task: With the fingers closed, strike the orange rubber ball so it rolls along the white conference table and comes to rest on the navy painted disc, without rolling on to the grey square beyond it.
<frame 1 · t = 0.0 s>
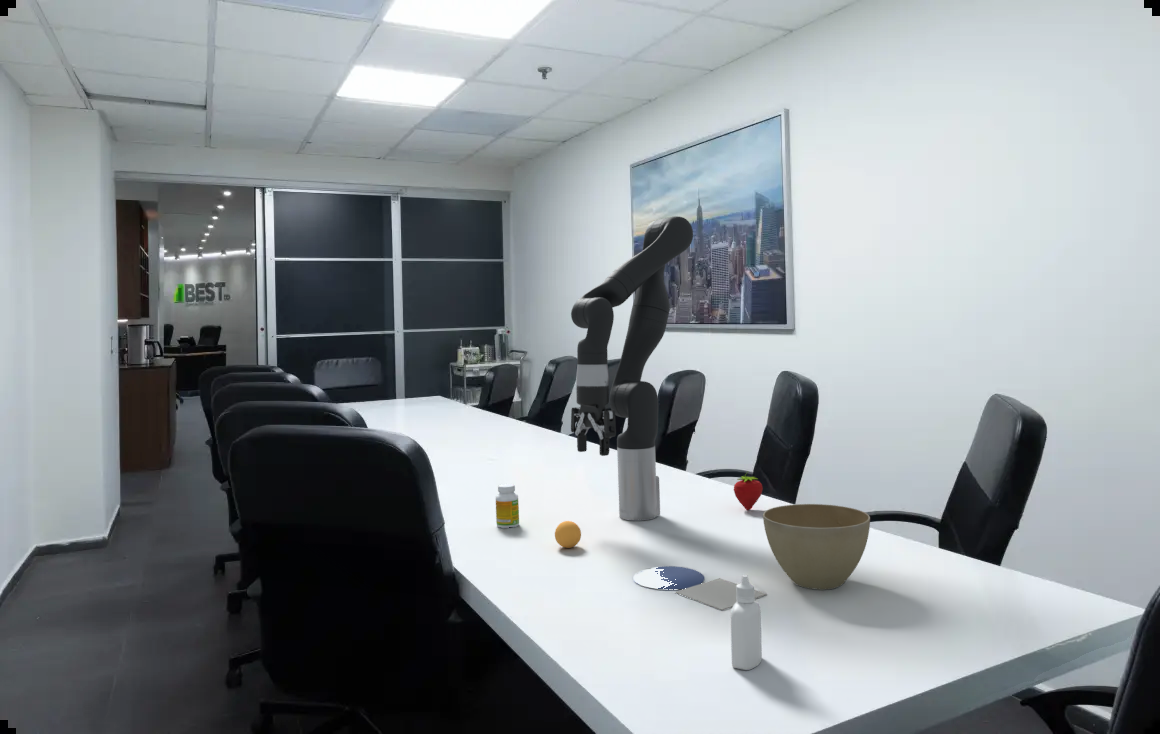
hand: (592, 453, 179), 17 cm above the table, tool pointing down, fingers open, 8 cm apart
strawberry: (748, 510, 190), on the table
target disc: (668, 578, 141), on the table
supplement bottle: (508, 526, 183), on the table
beige bowl: (816, 583, 136), on the table
eye dropper bottle: (747, 664, 105), on the table
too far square: (720, 593, 131), on the table
ball: (567, 534, 163), on the table
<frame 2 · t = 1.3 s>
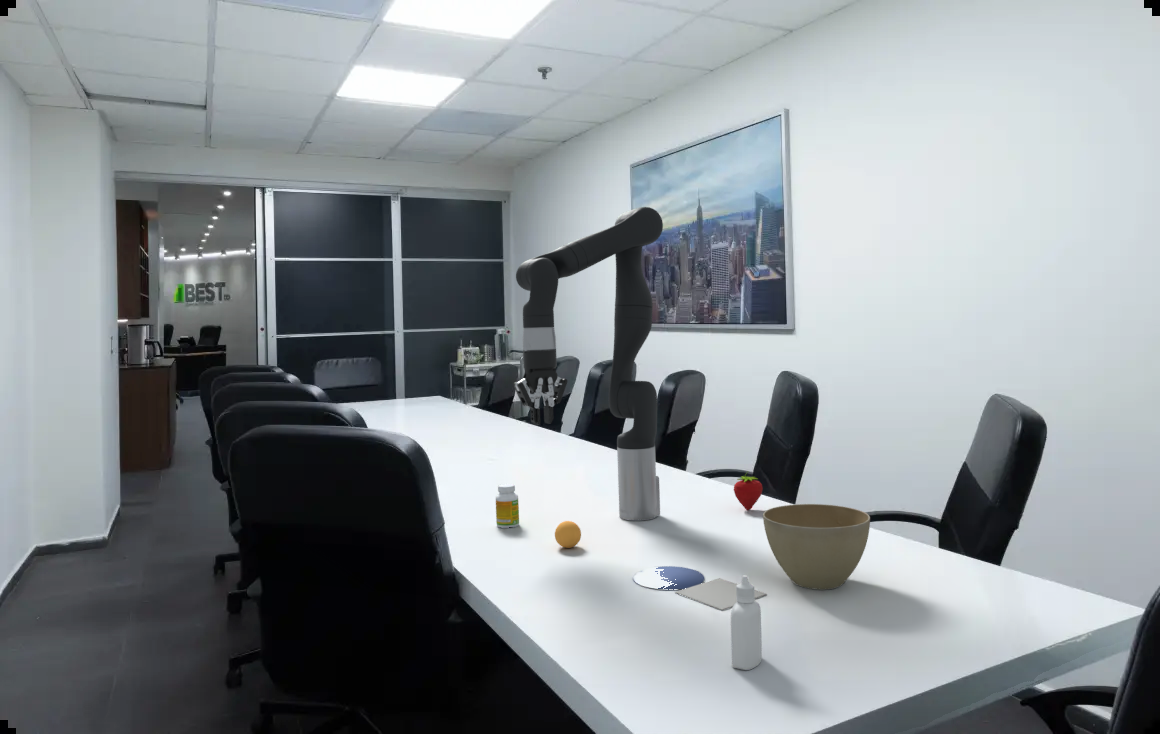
hand: (542, 423, 174), 25 cm above the table, tool pointing down, fingers closed
nothing on the table moved.
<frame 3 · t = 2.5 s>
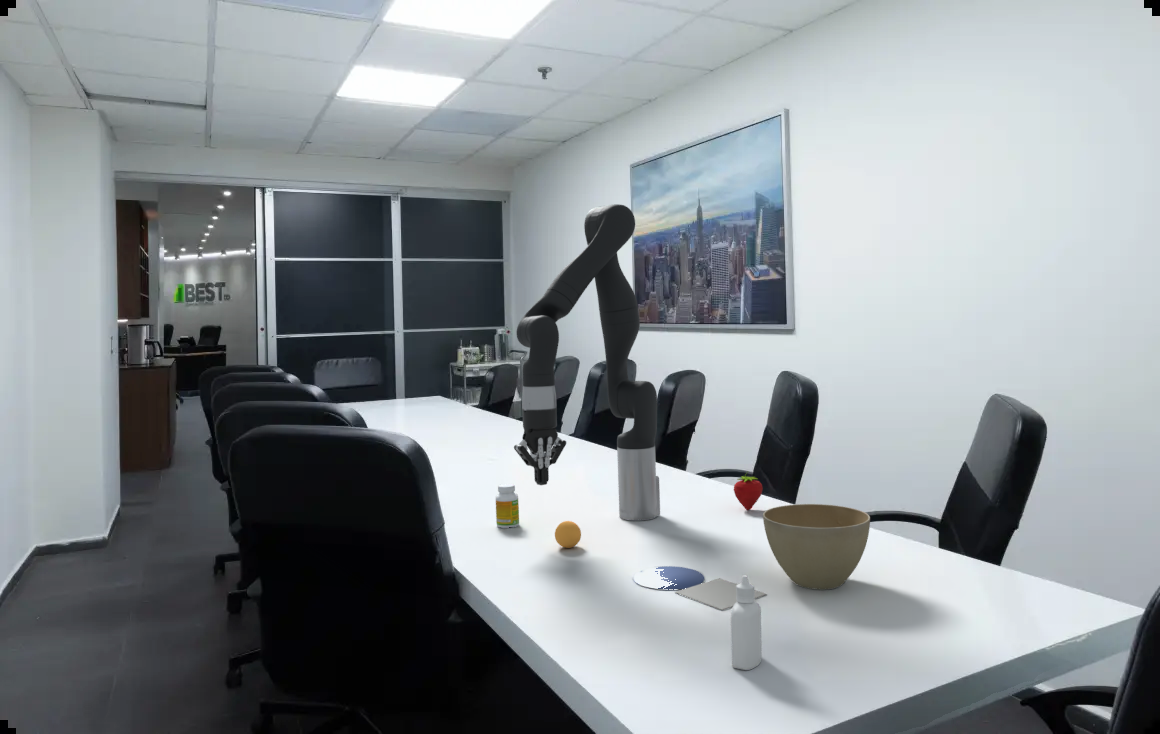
hand: (541, 484, 170), 12 cm above the table, tool pointing down, fingers closed
nothing on the table moved.
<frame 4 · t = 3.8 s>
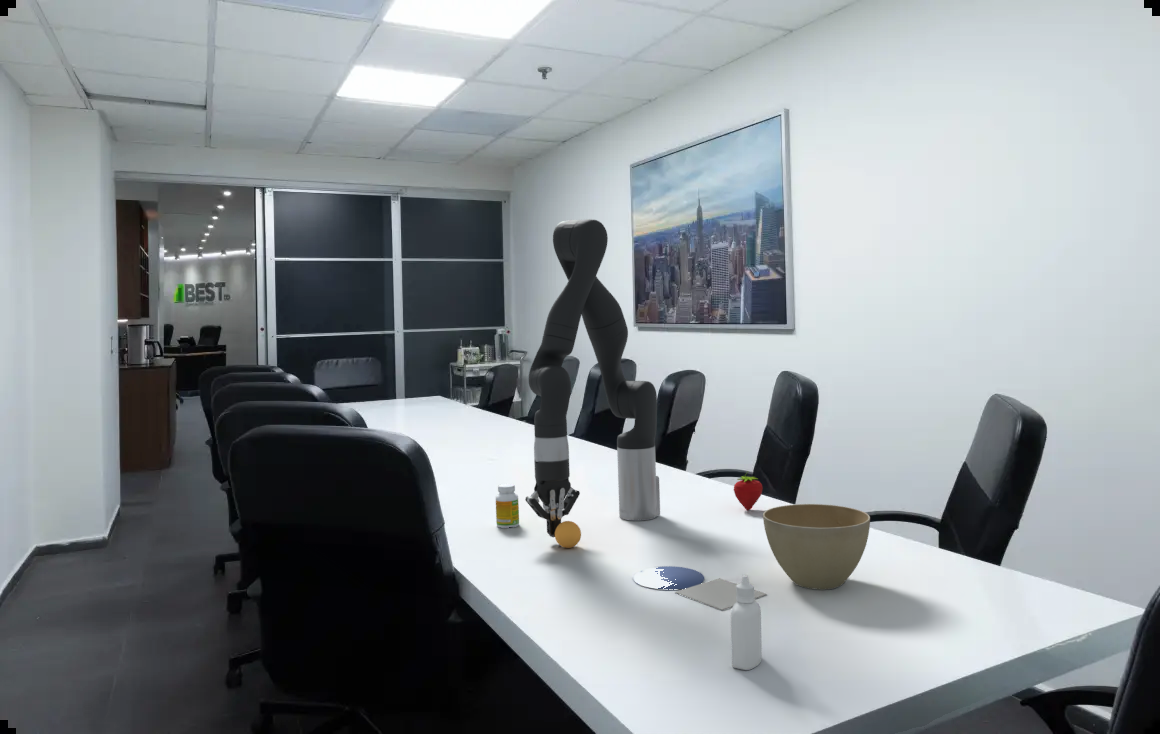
hand: (554, 536, 166), 2 cm above the table, tool pointing down, fingers closed
nothing on the table moved.
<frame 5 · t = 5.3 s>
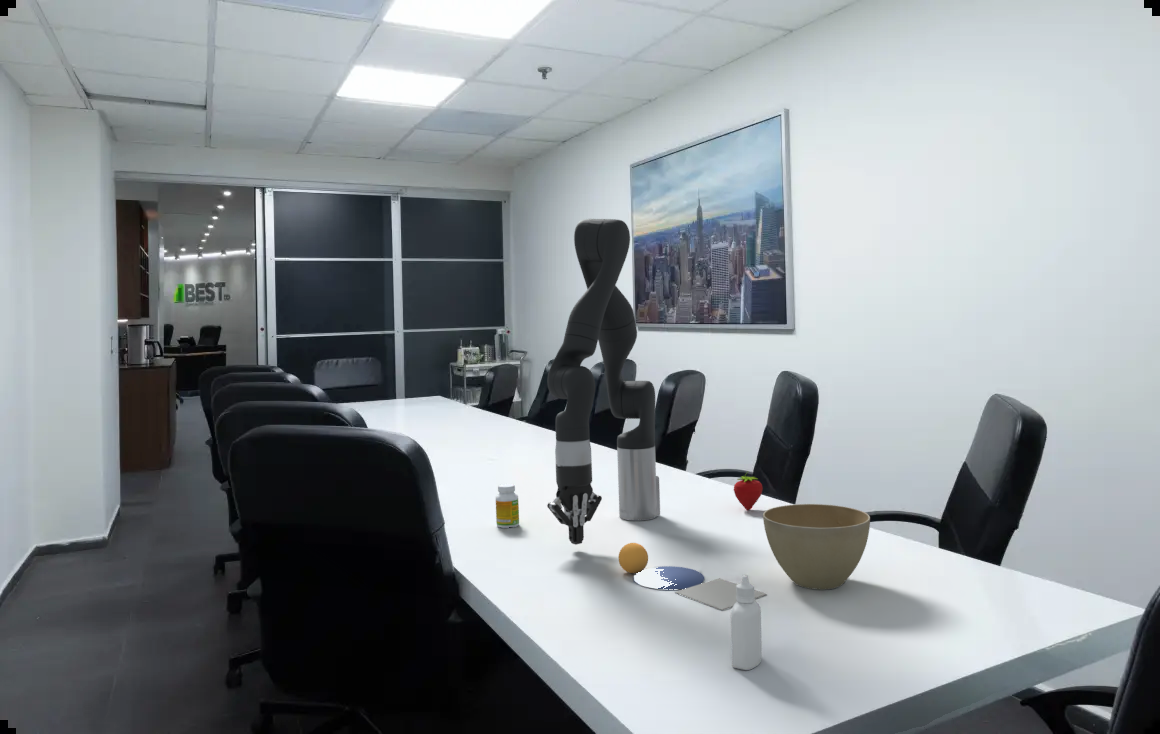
hand: (576, 543, 160), 1 cm above the table, tool pointing down, fingers closed
ball: (633, 558, 144), on the table
everything else where it was.
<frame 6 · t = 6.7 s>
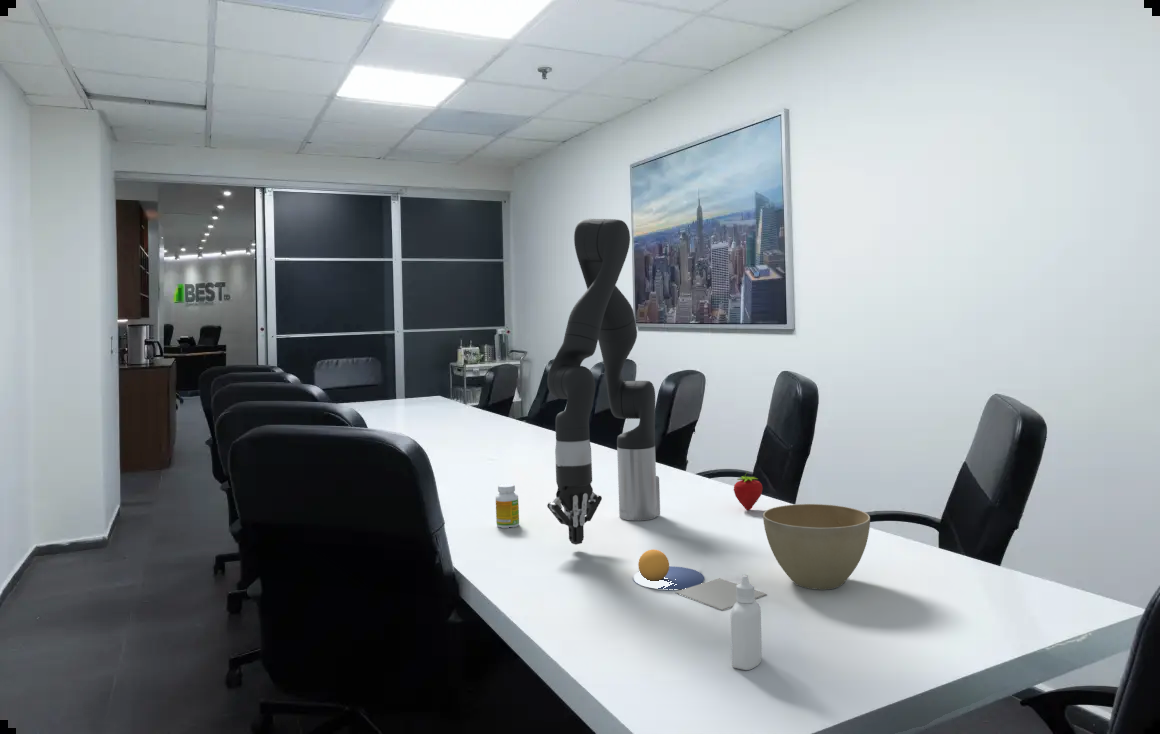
hand: (576, 543, 160), 1 cm above the table, tool pointing down, fingers closed
ball: (653, 565, 140), on the table
everything else where it was.
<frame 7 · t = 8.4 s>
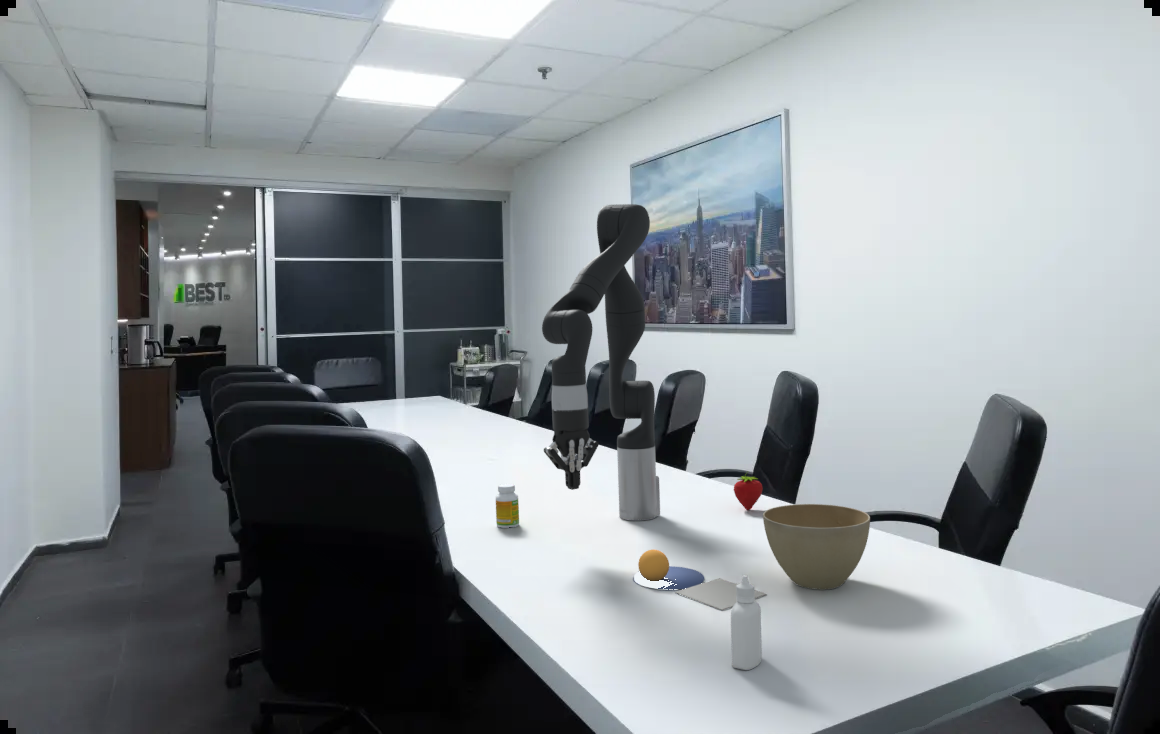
hand: (573, 488, 160), 13 cm above the table, tool pointing down, fingers closed
nothing on the table moved.
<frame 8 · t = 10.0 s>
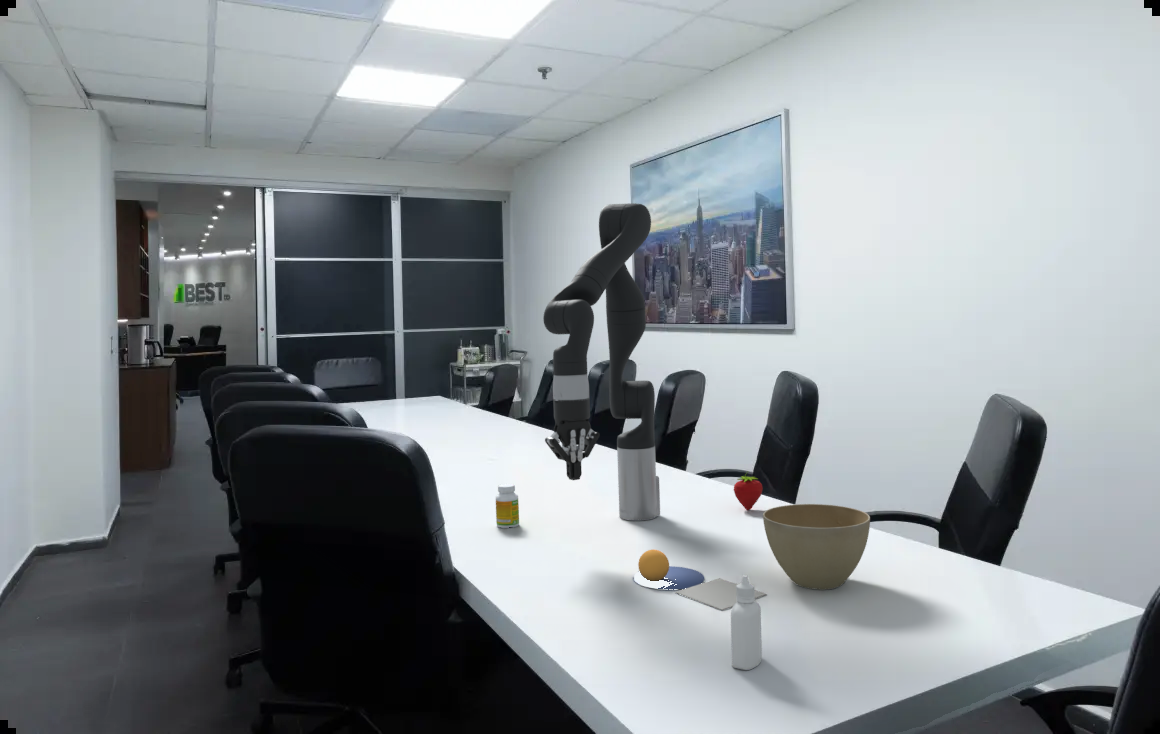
hand: (574, 479, 160), 15 cm above the table, tool pointing down, fingers closed
nothing on the table moved.
at the end: ball 2.8 cm from the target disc (horizontally); ball at rest at the end (0.0 cm/s); ball moved 28.1 cm from its start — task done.
